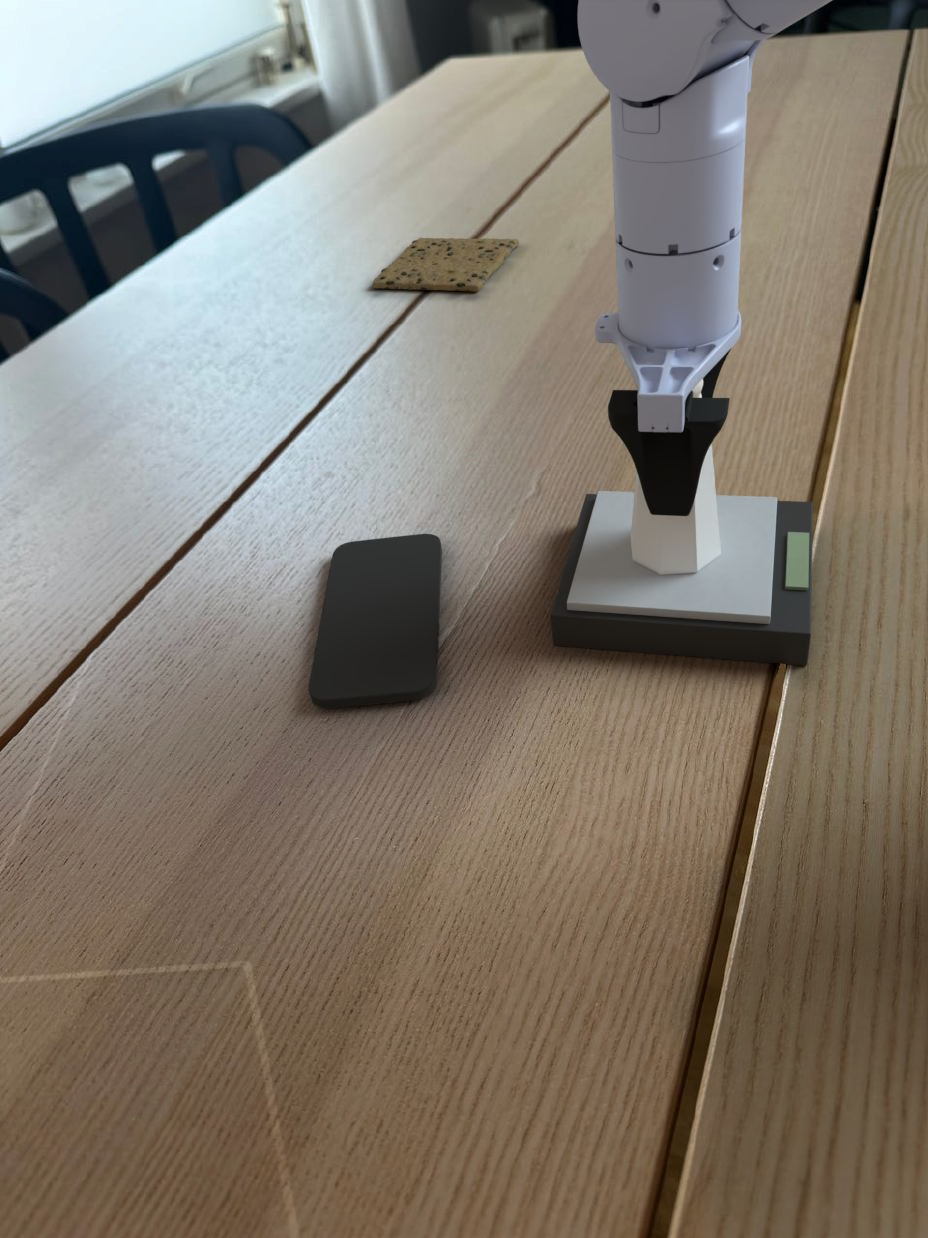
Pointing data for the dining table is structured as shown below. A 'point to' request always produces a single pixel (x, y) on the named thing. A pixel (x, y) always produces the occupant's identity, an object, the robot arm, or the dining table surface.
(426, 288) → the cookie
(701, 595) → the scale
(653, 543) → the pepper shaker
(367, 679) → the phone
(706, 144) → the robot arm
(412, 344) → the dining table surface
